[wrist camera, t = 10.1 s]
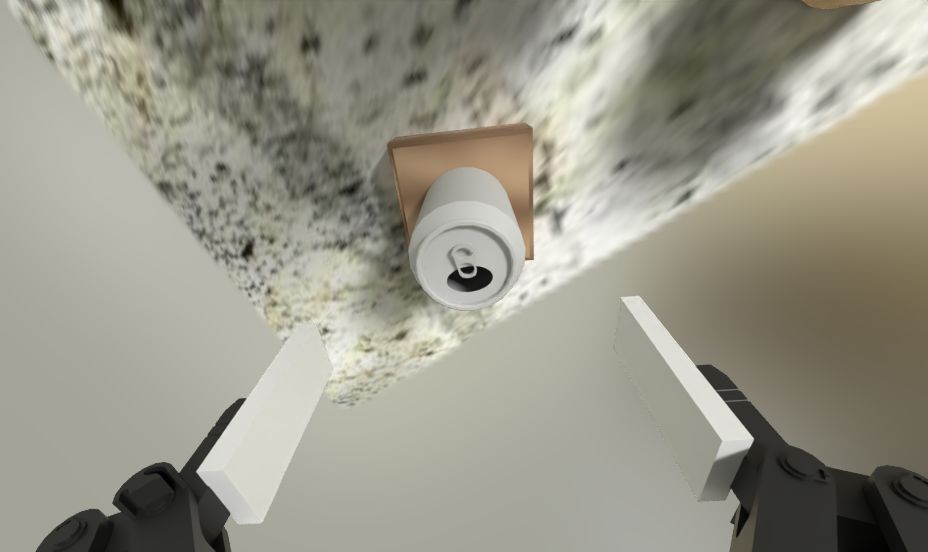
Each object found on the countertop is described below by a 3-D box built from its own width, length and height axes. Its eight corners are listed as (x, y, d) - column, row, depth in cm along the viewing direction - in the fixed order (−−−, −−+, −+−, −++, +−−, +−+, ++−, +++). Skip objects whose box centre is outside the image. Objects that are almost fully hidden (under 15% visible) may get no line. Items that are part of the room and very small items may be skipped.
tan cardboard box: (395, 137, 32) (386, 144, 29) (525, 122, 32) (533, 128, 28) (417, 253, 38) (412, 271, 34) (527, 243, 38) (534, 260, 34)
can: (435, 251, 33) (420, 328, 23) (415, 173, 30) (388, 222, 19) (512, 238, 33) (535, 312, 22) (502, 157, 29) (523, 198, 19)
